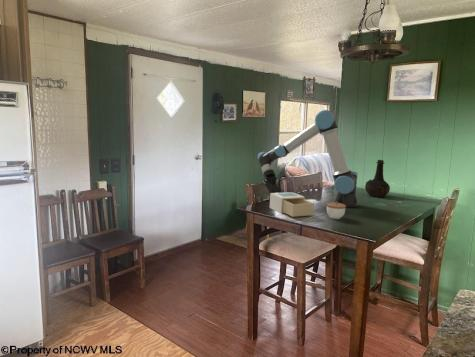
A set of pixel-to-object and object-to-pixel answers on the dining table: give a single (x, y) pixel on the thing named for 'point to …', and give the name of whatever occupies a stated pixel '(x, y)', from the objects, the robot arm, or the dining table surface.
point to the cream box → (281, 199)
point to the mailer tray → (297, 207)
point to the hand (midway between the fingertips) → (279, 201)
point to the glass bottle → (378, 183)
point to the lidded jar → (335, 210)
